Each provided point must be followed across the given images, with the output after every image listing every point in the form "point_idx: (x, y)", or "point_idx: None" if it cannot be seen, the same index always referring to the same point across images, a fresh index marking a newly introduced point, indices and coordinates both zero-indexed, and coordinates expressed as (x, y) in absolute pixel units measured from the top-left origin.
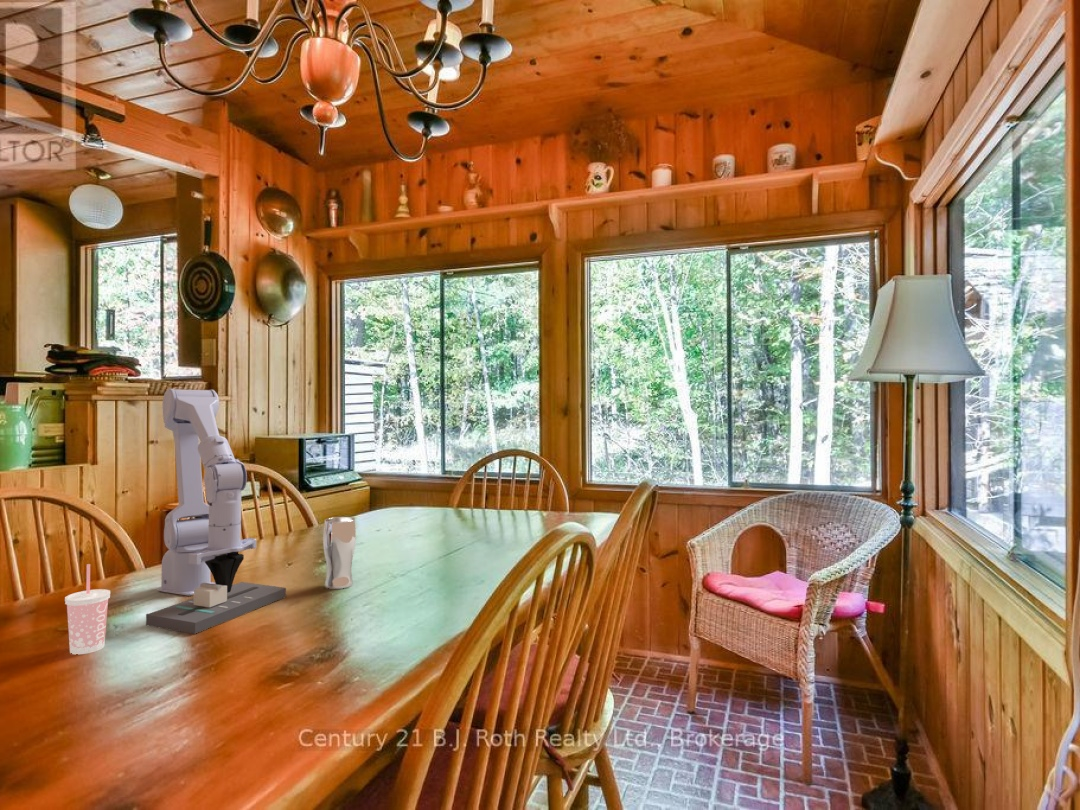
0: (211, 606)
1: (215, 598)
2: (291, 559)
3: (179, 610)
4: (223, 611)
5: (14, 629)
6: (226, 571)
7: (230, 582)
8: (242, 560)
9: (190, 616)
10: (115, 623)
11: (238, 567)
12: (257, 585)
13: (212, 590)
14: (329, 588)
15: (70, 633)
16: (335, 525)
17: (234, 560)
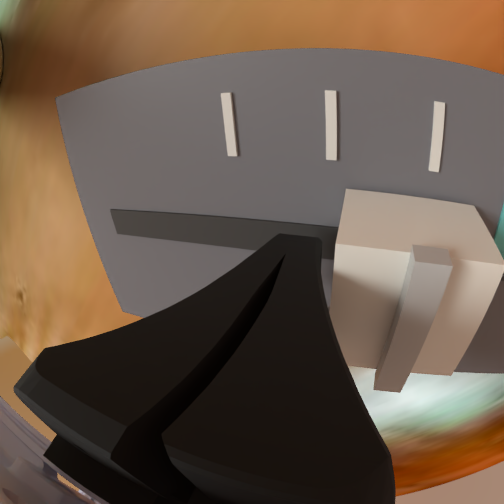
0: (462, 204)
1: (442, 221)
2: (17, 307)
3: (499, 315)
4: (495, 81)
5: (488, 465)
6: (318, 355)
7: (273, 263)
8: (63, 346)
9: None
10: (487, 403)
11: (143, 318)
12: (102, 234)
13: (480, 265)
14: (1, 52)
15: None
16: None
17: (153, 425)
